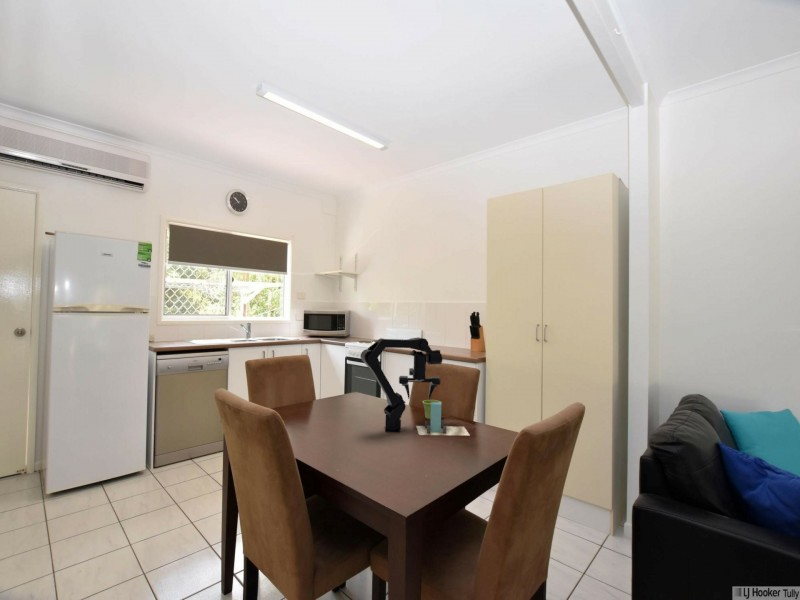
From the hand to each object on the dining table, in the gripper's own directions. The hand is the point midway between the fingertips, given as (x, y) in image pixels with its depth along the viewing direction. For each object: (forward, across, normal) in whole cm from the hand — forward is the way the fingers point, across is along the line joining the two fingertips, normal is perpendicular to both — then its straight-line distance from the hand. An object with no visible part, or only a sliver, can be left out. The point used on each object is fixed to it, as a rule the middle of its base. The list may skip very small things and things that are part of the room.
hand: (418, 399), depth 172 cm
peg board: (+13, -10, +7) cm, 18 cm away
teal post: (+12, -7, +7) cm, 16 cm away
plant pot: (+13, -8, -13) cm, 20 cm away
